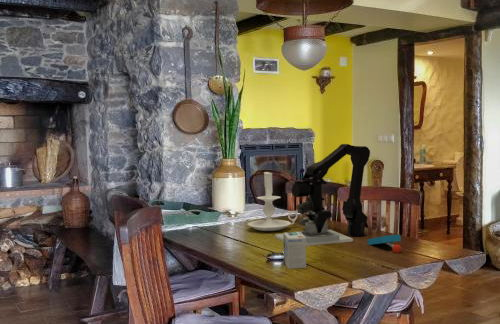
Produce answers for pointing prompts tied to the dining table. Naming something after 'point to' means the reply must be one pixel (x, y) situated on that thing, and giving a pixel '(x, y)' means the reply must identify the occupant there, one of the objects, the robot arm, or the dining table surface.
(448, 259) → the dining table surface
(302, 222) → the wheel
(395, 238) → the lever
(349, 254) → the dining table surface
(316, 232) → the block
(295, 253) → the light bulb box
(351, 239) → the chassis
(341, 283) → the dining table surface
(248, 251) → the dining table surface
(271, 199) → the candlestick
